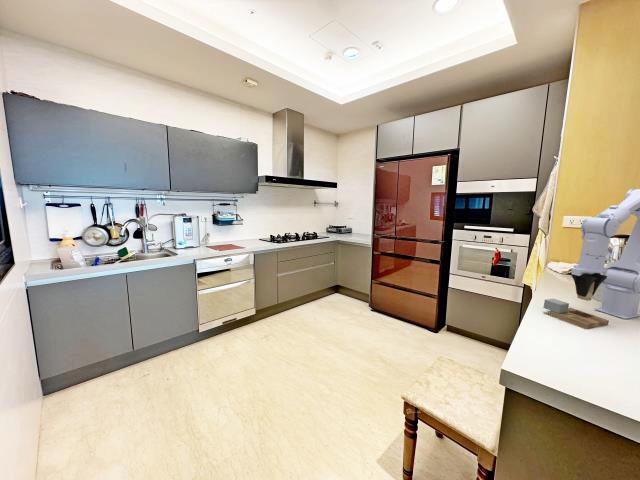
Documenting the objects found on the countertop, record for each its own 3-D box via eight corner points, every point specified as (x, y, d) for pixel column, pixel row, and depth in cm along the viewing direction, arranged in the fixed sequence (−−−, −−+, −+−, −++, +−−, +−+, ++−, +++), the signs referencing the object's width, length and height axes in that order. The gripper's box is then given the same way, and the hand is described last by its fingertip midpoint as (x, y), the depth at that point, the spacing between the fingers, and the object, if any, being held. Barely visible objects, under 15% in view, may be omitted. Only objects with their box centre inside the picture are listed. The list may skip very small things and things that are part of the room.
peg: (580, 296, 86) (584, 279, 85) (593, 300, 83) (597, 282, 82) (574, 297, 85) (578, 280, 84) (587, 301, 82) (591, 283, 81)
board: (569, 311, 91) (570, 307, 90) (607, 325, 81) (608, 320, 81) (548, 315, 87) (549, 310, 87) (586, 329, 78) (587, 324, 78)
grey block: (551, 306, 90) (553, 298, 90) (567, 312, 86) (569, 303, 86) (543, 307, 89) (544, 299, 88) (558, 313, 85) (560, 304, 84)
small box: (618, 304, 100) (624, 278, 99) (601, 302, 101) (607, 276, 100) (601, 296, 108) (606, 272, 106) (585, 295, 109) (590, 271, 107)
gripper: (590, 251, 88) (583, 289, 90) (563, 252, 84) (555, 292, 86) (619, 256, 82) (610, 296, 84) (591, 257, 77) (582, 300, 79)
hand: (584, 295), depth 84 cm, fingers closed on peg, 3 cm apart
